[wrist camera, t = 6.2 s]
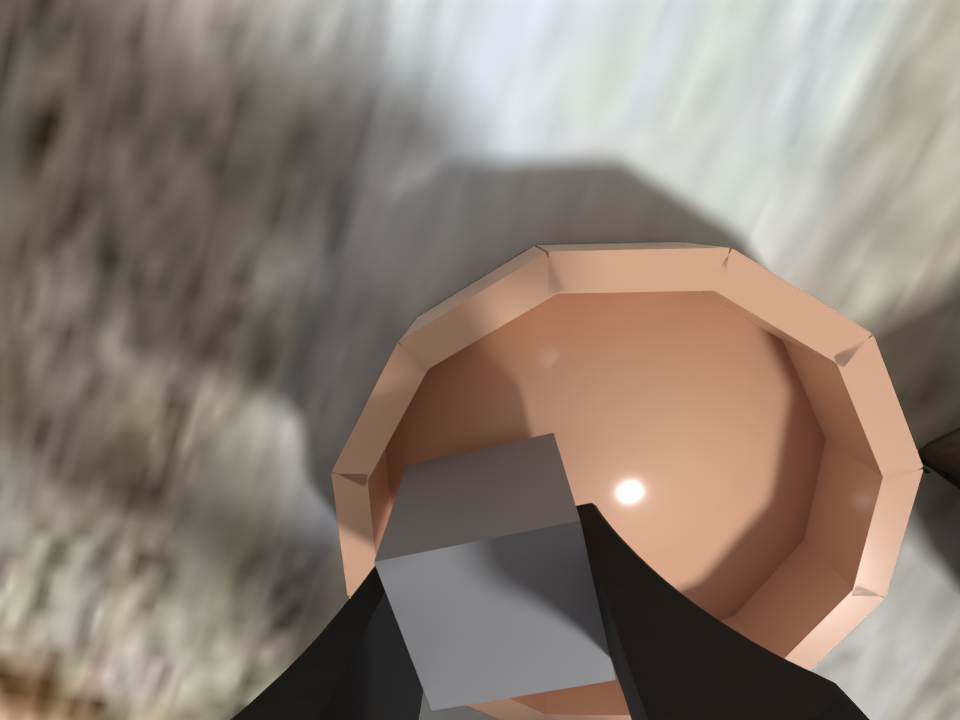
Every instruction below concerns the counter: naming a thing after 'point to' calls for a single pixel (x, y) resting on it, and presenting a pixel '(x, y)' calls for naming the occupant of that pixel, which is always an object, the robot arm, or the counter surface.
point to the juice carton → (944, 456)
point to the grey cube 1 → (493, 576)
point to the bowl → (661, 434)
